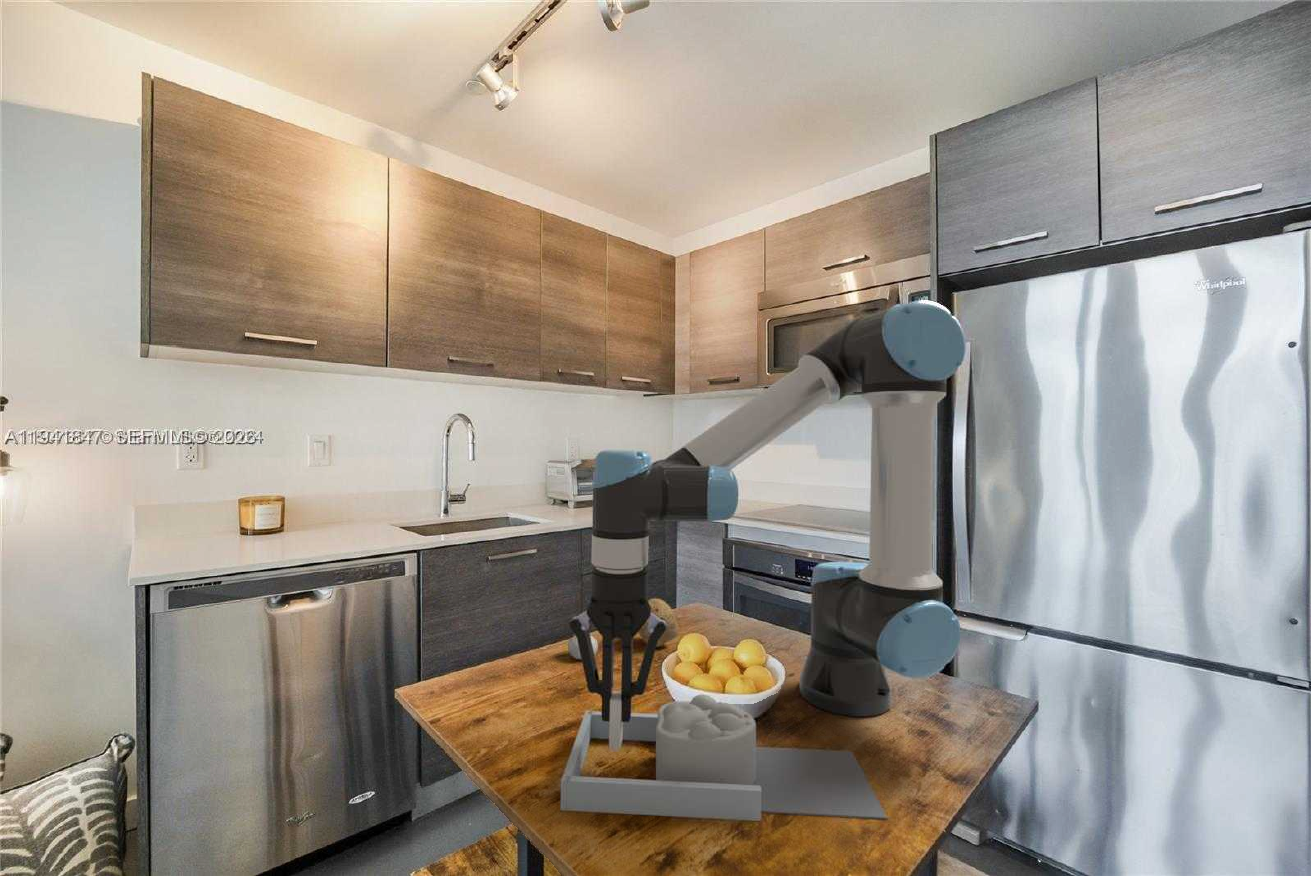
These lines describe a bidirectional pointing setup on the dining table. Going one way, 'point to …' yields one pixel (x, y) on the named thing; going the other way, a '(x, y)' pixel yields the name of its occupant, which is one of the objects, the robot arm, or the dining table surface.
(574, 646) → the garlic
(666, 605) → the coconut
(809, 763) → the mat
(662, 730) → the lumpy-topped squat cylinder
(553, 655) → the dining table surface
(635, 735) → the low rectangular rim
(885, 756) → the dining table surface
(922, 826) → the dining table surface
